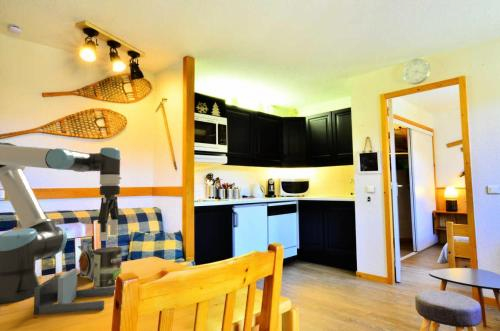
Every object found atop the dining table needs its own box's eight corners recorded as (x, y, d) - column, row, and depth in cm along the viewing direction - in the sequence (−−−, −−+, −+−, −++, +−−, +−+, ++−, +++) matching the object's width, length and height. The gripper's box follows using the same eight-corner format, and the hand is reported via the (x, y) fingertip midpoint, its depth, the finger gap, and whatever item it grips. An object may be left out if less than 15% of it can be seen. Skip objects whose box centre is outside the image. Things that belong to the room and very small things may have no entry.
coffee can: (126, 281, 123) (127, 247, 124) (110, 290, 113) (111, 252, 114) (104, 280, 125) (105, 246, 126) (86, 288, 115) (87, 251, 116)
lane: (33, 315, 91) (34, 288, 91) (55, 298, 104) (55, 275, 105) (103, 309, 94) (103, 284, 95) (115, 294, 108) (115, 271, 108)
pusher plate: (57, 310, 93) (58, 278, 94) (71, 297, 104) (72, 268, 105) (62, 310, 93) (63, 277, 94) (76, 297, 104) (77, 268, 105)
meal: (72, 276, 130) (73, 246, 131) (82, 274, 134) (83, 245, 135) (88, 283, 121) (88, 250, 122) (98, 280, 124) (99, 249, 125)
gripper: (110, 184, 110) (110, 242, 108) (126, 185, 134) (126, 232, 133) (89, 185, 109) (87, 243, 107) (109, 185, 133) (108, 233, 132)
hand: (109, 237), depth 120 cm, fingers open, 13 cm apart
